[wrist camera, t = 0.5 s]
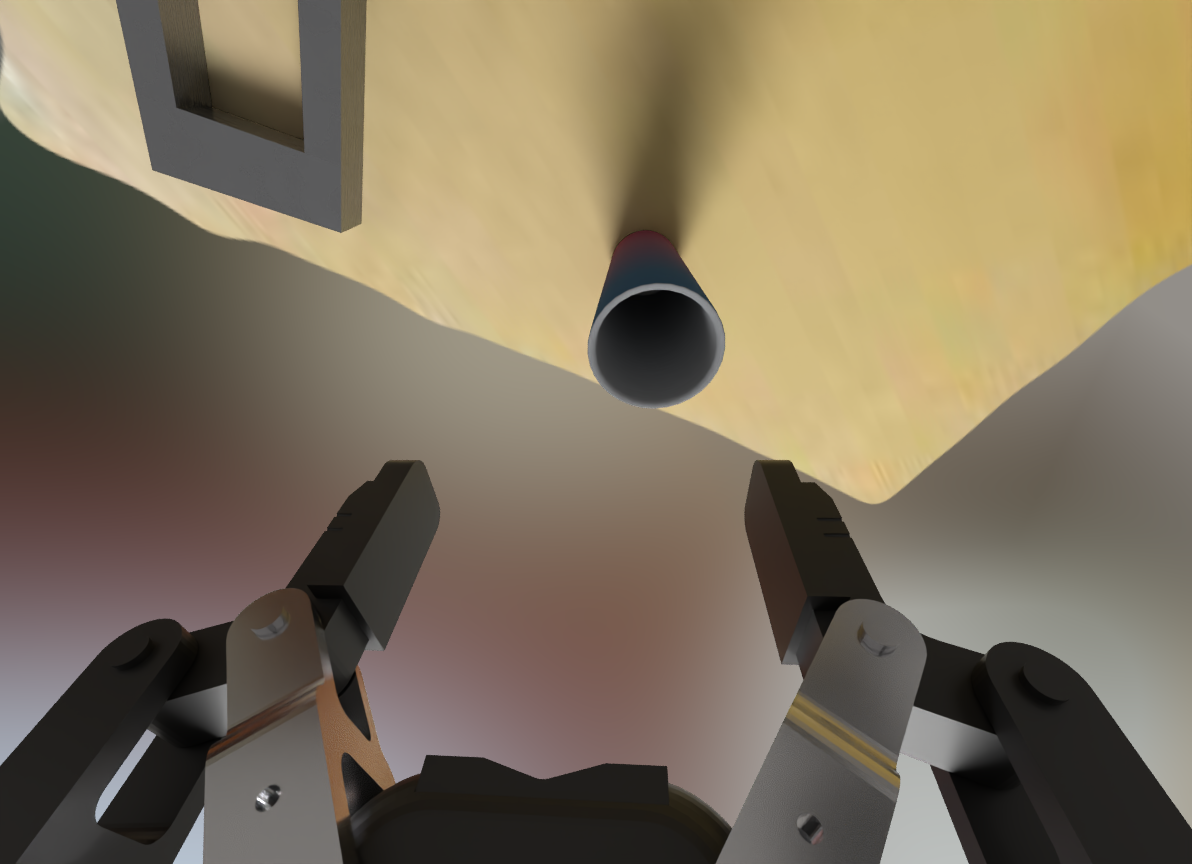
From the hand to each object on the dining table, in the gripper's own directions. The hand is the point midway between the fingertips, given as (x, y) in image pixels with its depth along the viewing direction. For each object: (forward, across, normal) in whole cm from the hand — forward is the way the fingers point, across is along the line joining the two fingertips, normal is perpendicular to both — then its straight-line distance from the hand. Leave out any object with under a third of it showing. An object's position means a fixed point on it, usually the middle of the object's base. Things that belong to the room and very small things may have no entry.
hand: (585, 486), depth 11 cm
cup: (+28, -2, +3) cm, 28 cm away
